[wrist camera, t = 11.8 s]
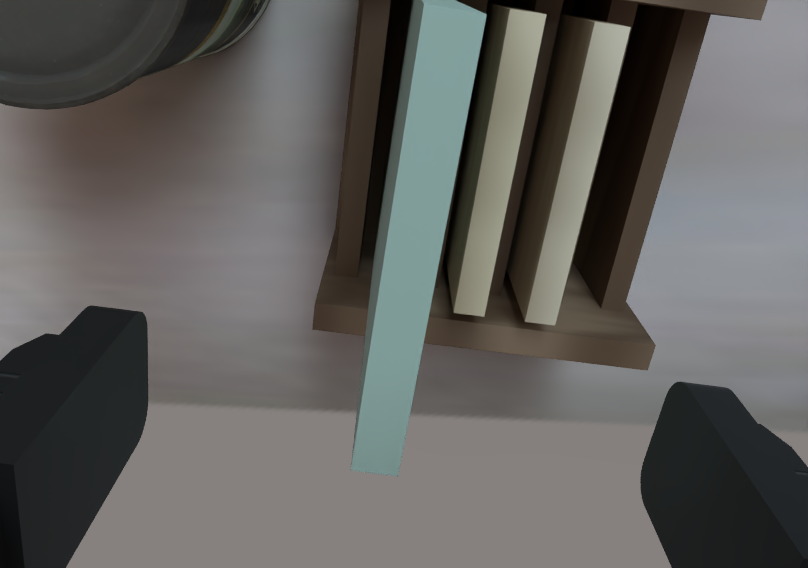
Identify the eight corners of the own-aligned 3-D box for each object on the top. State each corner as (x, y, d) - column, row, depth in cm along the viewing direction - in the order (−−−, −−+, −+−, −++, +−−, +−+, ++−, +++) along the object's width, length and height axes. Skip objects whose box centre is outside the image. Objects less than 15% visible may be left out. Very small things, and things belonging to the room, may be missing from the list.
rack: (668, -20, 32) (773, -19, 23) (589, 276, 38) (647, 370, 29) (367, -66, 31) (352, -84, 22) (334, 243, 37) (312, 329, 28)
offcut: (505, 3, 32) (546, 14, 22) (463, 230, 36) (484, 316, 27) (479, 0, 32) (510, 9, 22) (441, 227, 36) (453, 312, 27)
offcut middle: (565, 12, 32) (630, 27, 23) (517, 237, 36) (555, 325, 27) (539, 9, 32) (594, 22, 23) (494, 234, 36) (524, 321, 27)
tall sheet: (438, -8, 31) (487, 14, 13) (401, 221, 36) (398, 476, 18) (412, -12, 31) (424, 3, 13) (378, 217, 36) (350, 470, 17)
